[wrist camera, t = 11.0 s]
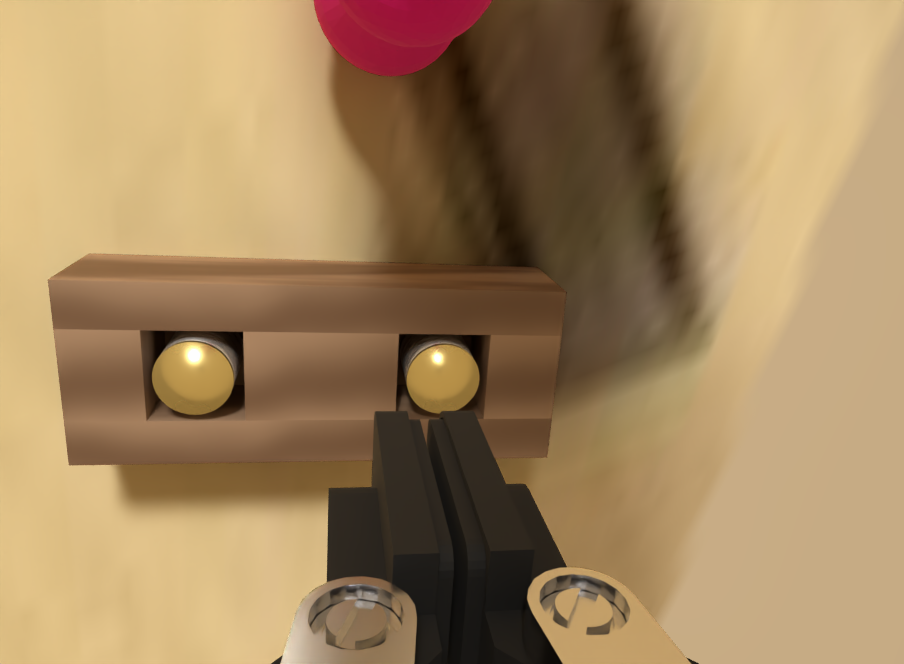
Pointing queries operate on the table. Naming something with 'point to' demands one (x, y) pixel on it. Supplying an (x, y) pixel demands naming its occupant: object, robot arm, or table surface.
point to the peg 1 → (198, 370)
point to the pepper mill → (395, 30)
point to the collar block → (295, 354)
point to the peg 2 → (439, 371)
